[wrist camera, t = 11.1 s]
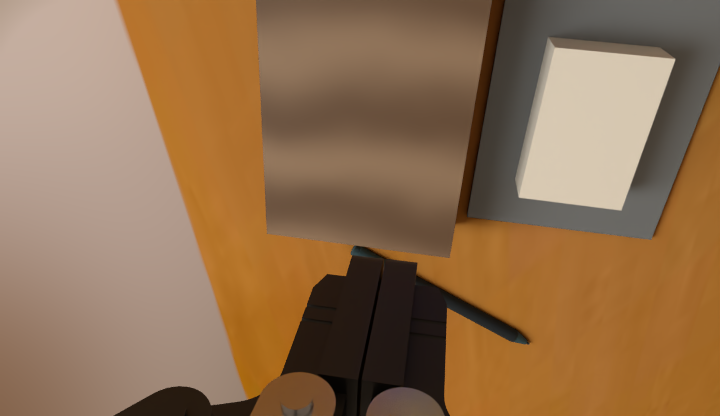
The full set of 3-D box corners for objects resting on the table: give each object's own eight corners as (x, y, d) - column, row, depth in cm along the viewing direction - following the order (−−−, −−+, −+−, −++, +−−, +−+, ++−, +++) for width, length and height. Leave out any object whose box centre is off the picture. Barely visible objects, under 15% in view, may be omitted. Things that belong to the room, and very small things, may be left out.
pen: (524, 342, 42) (525, 353, 41) (350, 249, 40) (347, 258, 39) (532, 334, 42) (534, 344, 41) (357, 239, 40) (354, 248, 39)
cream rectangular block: (675, 59, 27) (660, 47, 29) (554, 47, 28) (548, 36, 30) (621, 210, 32) (611, 190, 34) (518, 197, 32) (515, 179, 35)
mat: (512, -41, 29) (512, -40, 28) (751, -24, 27) (754, -24, 27) (466, 214, 37) (467, 216, 37) (649, 237, 35) (651, 239, 35)
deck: (276, -77, 30) (252, -74, 26) (496, -63, 28) (501, -58, 25) (284, 204, 39) (267, 233, 35) (450, 225, 37) (449, 258, 34)
